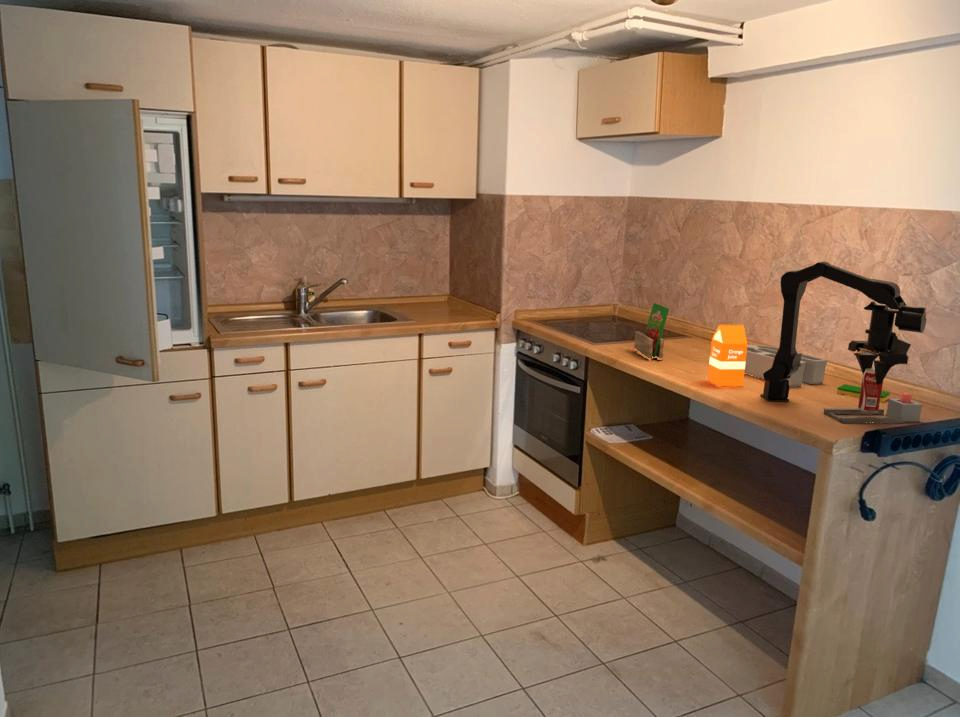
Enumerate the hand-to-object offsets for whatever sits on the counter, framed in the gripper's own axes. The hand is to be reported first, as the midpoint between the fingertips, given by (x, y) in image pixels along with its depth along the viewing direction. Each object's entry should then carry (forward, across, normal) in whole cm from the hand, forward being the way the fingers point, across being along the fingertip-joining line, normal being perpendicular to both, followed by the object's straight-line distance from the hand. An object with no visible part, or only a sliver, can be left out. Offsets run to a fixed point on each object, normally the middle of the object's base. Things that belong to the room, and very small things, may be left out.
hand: (872, 381), depth 210 cm
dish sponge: (+12, +24, -14) cm, 30 cm away
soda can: (+9, 0, 0) cm, 9 cm away
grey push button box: (+11, 0, -11) cm, 16 cm away
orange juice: (+11, +38, +26) cm, 47 cm away
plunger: (+9, 0, -11) cm, 14 cm away
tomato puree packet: (+11, +80, +38) cm, 89 cm away
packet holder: (+11, +80, +38) cm, 89 cm away
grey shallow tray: (+11, 0, +1) cm, 11 cm away
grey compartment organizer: (+11, +49, +3) cm, 50 cm away
